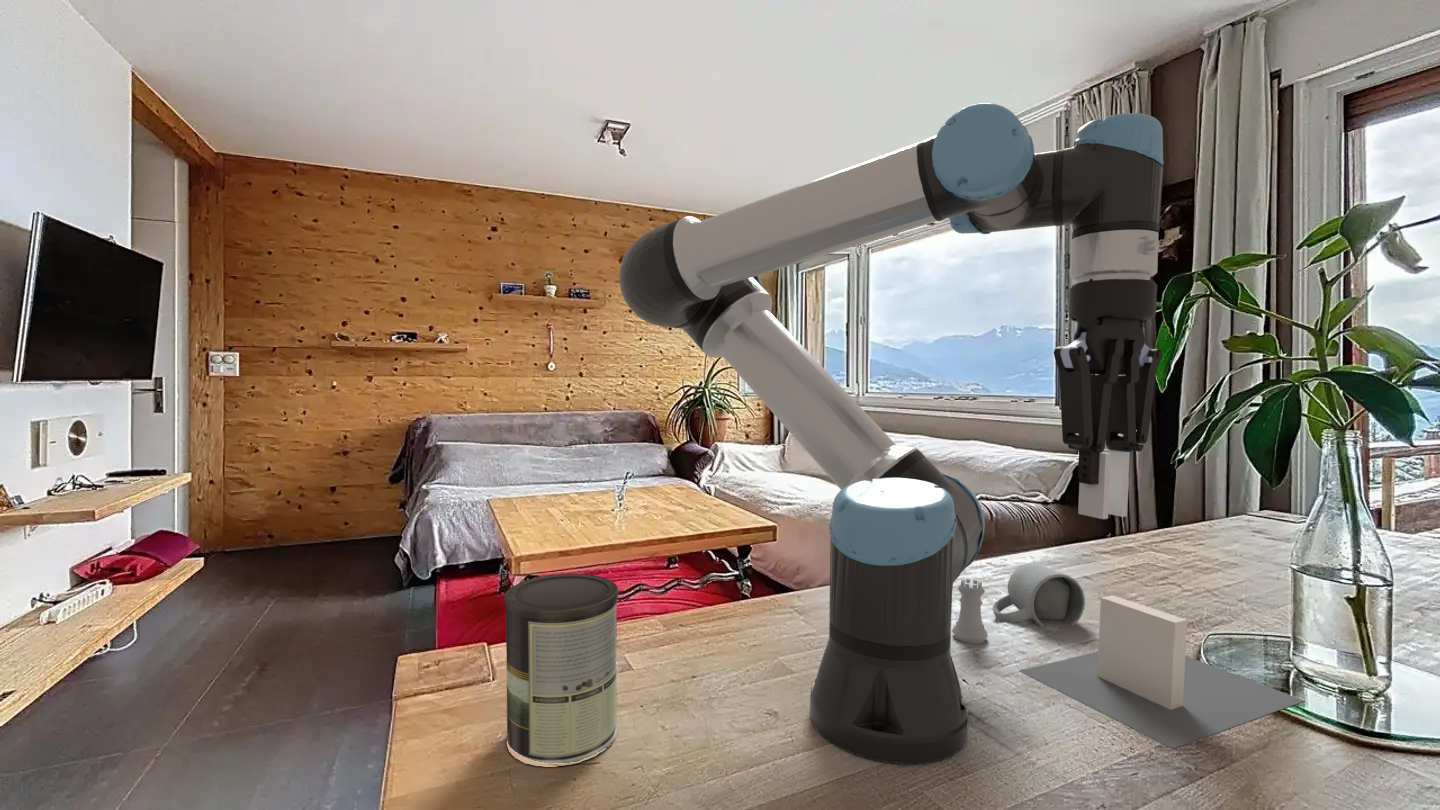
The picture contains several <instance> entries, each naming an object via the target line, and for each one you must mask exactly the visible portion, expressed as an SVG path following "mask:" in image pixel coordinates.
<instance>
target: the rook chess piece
mask: <svg viewBox="0 0 1440 810" xmlns="http://www.w3.org/2000/svg"><path fill="white" fill-rule="evenodd" d="M957 590H958V592H959V593H960V597H959V598H958V599H959V603H960V610H959V615H958V616H959V617H958V619H957V620H956V622H955V625H953V626H952V629H951V633H953V636H954V638H955V639H956V640H958V641H959V642H963V643H967V644H974V645H975V644H977V645H978V644H984V642H986V639H987V638H988V636H989V634H988V631H987V630H986V628H985V625H984V623H983V620H982V611H981V609H982V607H981V606H982V605H983V601H982V596H983V595H984V594H985V589H984V588H983V584H982V581H978V580H976V579H973V580H972V582H971V579H970V578H966V579H961V581H960V584H959V585H958V587H957Z"/></svg>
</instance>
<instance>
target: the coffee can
mask: <svg viewBox="0 0 1440 810" xmlns="http://www.w3.org/2000/svg"><path fill="white" fill-rule="evenodd" d="M618 597H619V587H618V585H617V584H616V583H615V582H614V581H612V580H611V579H609V578H605V577H604V576H599V575H592V574H586V573H562V574H561V573H559V574H548V575H543V576H539V577H533V578H530V579H527V580H524V581H521V582H519V583H517V584H515V585H513V586H511V587H510V588H508V590H507V591H505V593H504V606H505V621H506V622H505V629H506V630H505V631H506V634H505V635H506V637H505V639H506V643H505V645H506V646H505V648H506V740H507V741H508V744H509V746H510V748H512V749H513V750H514V751H515V752H517V753H518V754H519V755H522V756H523V757H526V758H528V759H531V760H534V761H539V762H544V763H546V762H547V763H570V762H577V761H580V760H582V759H584V758H587V757H590V756H592V755H594V754H596V753H597V752H600V751H602V750H603V749H605V748H606V747H608V746H609V745H610V744H611V743H612V742H613V743H614V741H615V740H614V739H616V737H617V735H616V733H617V734H618V727H617V695H618V693H617V652H618V651H617V648H618V646H617V641H618V640H617V636H618V635H617V632H618V630H617V629H618V627H617V625H618V622H617V621H618V620H617V619H618V616H617V615H618V614H617V609H618V607H617V602H618V601H617V600H618ZM615 736H616V737H615ZM613 740H614V741H613ZM613 743H612V744H613ZM612 744H611V745H612ZM608 748H609V747H608Z"/></svg>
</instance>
